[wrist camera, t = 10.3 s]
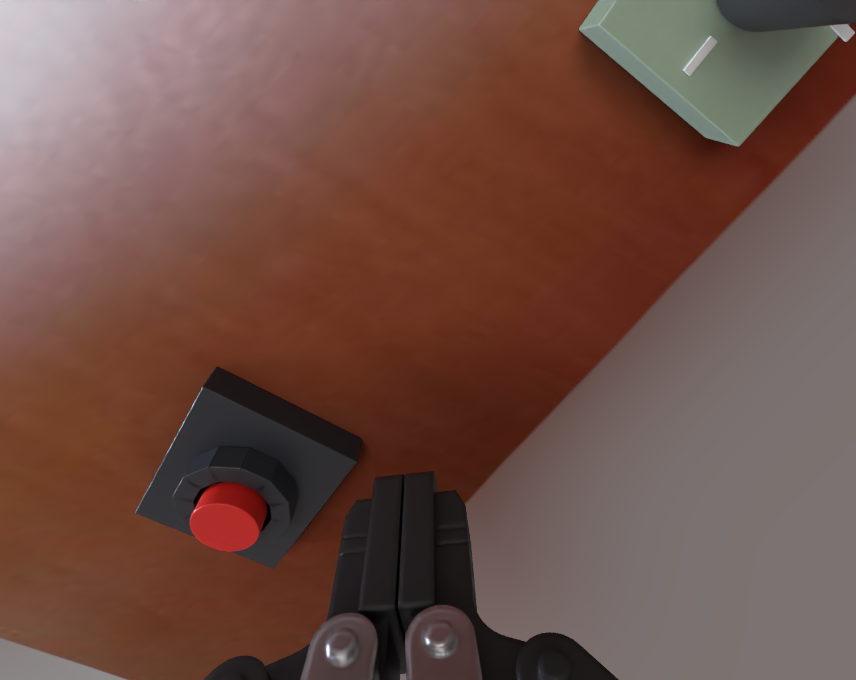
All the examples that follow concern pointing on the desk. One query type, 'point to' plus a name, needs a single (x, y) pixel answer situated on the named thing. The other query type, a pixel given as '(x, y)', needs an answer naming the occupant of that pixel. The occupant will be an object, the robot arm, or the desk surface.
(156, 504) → the button base
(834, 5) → the dial
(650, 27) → the dial panel
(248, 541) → the button
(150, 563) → the desk surface
